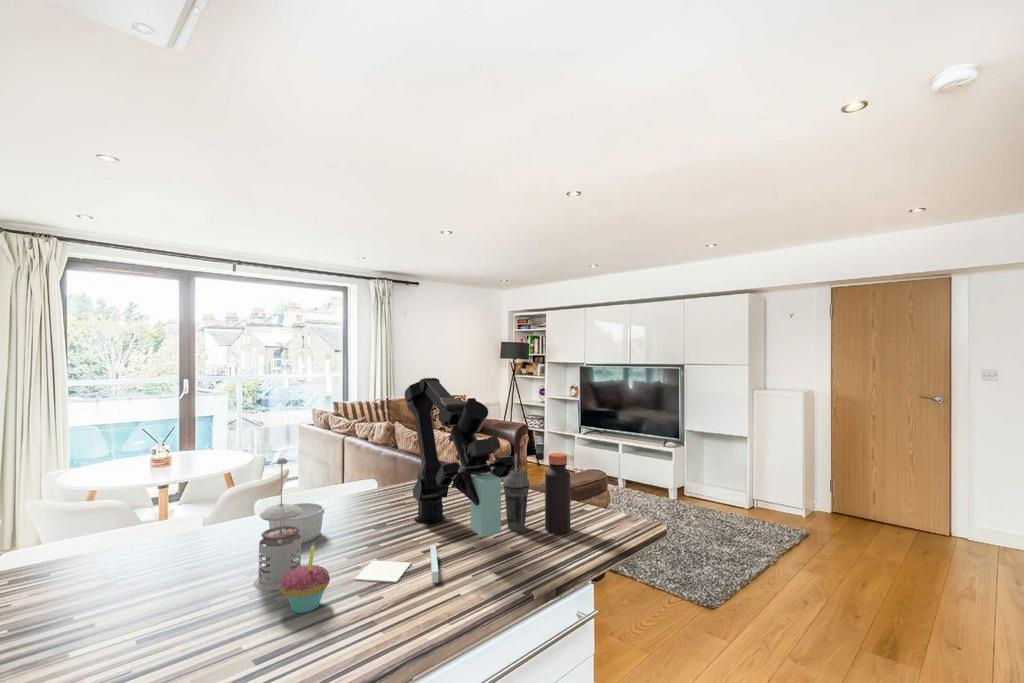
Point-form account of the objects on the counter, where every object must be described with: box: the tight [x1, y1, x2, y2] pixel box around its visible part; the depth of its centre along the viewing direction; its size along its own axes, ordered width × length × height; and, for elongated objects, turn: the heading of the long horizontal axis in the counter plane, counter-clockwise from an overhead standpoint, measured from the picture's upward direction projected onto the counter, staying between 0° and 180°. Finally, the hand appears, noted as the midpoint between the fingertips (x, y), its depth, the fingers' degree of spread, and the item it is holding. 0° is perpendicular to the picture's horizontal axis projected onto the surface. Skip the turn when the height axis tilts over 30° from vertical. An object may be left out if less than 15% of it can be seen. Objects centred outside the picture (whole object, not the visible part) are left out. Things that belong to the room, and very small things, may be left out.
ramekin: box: [268, 502, 325, 546], centre depth 123 cm, size 13×13×7 cm
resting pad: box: [354, 560, 412, 584], centre depth 103 cm, size 9×9×1 cm
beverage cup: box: [502, 453, 531, 532], centre depth 130 cm, size 7×7×20 cm
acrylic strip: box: [429, 545, 439, 584], centre depth 105 cm, size 14×1×2 cm, turn 11°
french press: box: [252, 457, 302, 592], centre depth 101 cm, size 10×12×25 cm
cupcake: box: [279, 542, 331, 614], centre depth 89 cm, size 9×8×12 cm
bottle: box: [544, 452, 572, 535], centre depth 129 cm, size 7×7×20 cm
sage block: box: [470, 473, 502, 537], centre depth 109 cm, size 5×5×12 cm
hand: (488, 502), depth 108 cm, fingers closed on sage block, 5 cm apart
